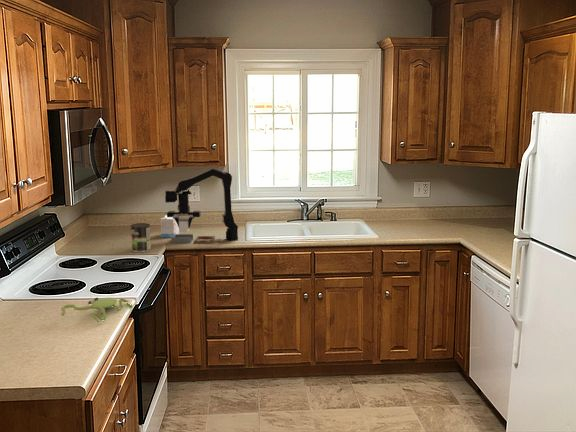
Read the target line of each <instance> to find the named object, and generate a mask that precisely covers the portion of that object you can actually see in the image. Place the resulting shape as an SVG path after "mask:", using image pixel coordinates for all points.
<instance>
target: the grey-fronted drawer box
mask: <svg viewBox="0 0 576 432" xmlns="http://www.w3.org/2000/svg"><path fill="white" fill-rule="evenodd" d="M188 226H189V217H179V233H180V232H181V233H182V232H183V233H187V232H189V231H190V228H191V227H190V228H189V227H188Z"/></svg>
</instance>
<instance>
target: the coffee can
mask: <svg viewBox="0 0 576 432" xmlns="http://www.w3.org/2000/svg"><path fill="white" fill-rule="evenodd" d="M130 231H131V235H130V237H131V251H132V252H134V253H145V251H147V252H150V251H151V250H152V249H151V248H152V247H151V223H146V222H141V223H140V222H137V223H132V224H131V225H130ZM149 250H150V251H149Z"/></svg>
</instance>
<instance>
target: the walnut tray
mask: <svg viewBox="0 0 576 432" xmlns="http://www.w3.org/2000/svg"><path fill="white" fill-rule="evenodd" d="M215 237H216V236H215V235H197V236H196V238H195V240H194V244H213V243H214V241H215V239H216V238H215Z"/></svg>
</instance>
